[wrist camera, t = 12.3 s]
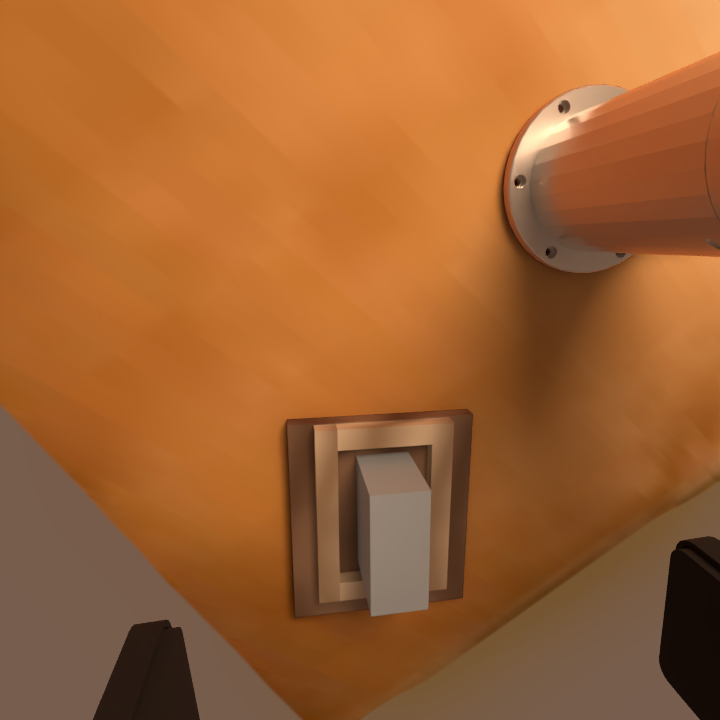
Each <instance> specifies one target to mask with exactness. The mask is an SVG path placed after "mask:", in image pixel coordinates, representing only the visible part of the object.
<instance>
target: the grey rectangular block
mask: <svg viewBox="0 0 720 720" xmlns="http://www.w3.org/2000/svg"><path fill="white" fill-rule="evenodd" d="M356 483H357V543H358V563H359V568H360V572H361V576H362V581H363V585H364V589H365V593H366V598H367V602H368V606H369V611H370V615H371V616H379V615H387V614H395V613H403V612H411V611H418V610H426V609H428V601H429V560H430V518H431V489H430V488H429V486H428V484H427V483H426V481H425V479H424V478H423V476H422V474H421V472H420V471H419V469H418V467H417V466H416V464H415V462H414V461H413V459H412V457H411V456H410V454H409V452H395V453H383V454H370V455H357V456H356Z"/></svg>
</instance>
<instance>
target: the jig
mask: <svg viewBox="0 0 720 720" xmlns="http://www.w3.org/2000/svg"><path fill="white" fill-rule="evenodd" d="M472 420H473V414H472V413H471V412H470V411H468V410H467V409H463V410H445V411H428V412H410V413H393V414H375V415H358V416H340V417H323V418H305V419H288V420H287V433H288V456H289V480H290V504H291V527H292V551H293V575H294V599H295V618H296V617H305V616H314V615H322V614H331V613H339V612H348V611H357V610H365V609H369V606H368V602H367V598H366V593H365V589H364V585H363V581H362V576H361V572H360V568H359V563H358V543H357V483H356V456H357V455H370V454H383V453H395V452H409V454H410V456H411V457H412V459H413V461H414V462H415V464H416V466H417V467H418V469H419V471H420V472H421V474H422V476H423V478H424V479H425V481H426V483H427V484H428V486H429V488H430V489H431V518H430V560H429V601H428V602H434V601H442V600H451V599H459V598H463V583H464V565H465V547H466V529H467V511H468V493H469V475H470V457H471V438H472Z"/></svg>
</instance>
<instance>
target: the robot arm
mask: <svg viewBox="0 0 720 720" xmlns="http://www.w3.org/2000/svg"><path fill="white" fill-rule="evenodd" d="M558 107H559V109H560V112H559V110H558ZM514 180H516V181H517V185H516V186H515V184H514ZM503 189H504V204H505V209H506V213H507V217H508V221H509V223H510V226H511V228H512V230H513V232H514V234H515V237H516V238H517V239H518V241H519V242H520V243H521V245H522V246H523V248H524V249H525V250H526V251H527V252H528V253H529V254H530V255H532V256H533V257H534V258H535V259H536V260H538V261H539V262H541V263H543V264H545V265H546V266H548V267H551V268H554V269H557V270H560V271H565V272H572V273H592V272H597V271H601V270H606V269H608V268H610V267H613V266H615V265H617V264H620V263H621V262H623V261H624V260H626V259H627V258H629V257H630V256H632V255H633V254H658V255H684V256H710V257H720V52H718V53H716V54H714V55H711V56H709V57H707V58H704V59H702V60H700V61H697V62H695V63H693V64H690V65H688V66H686V67H683V68H681V69H679V70H676V71H674V72H672V73H669V74H667V75H665V76H663V77H660V78H658V79H656V80H653V81H651V82H649V83H646V84H644V85H642V86H639V87H637V88H635V89H632V90H630V91H629V90H627V89H624V88H622V87H619V86H614V85H607V84H593V85H585V86H582V87H578V88H575V89H572V90H569V91H567V92H565V93H563V94H561V95H559V96H557V97H555V98H554V99H552V100H551V101H549V102H548V103H547V104H545V105H544V106H542V107H541V108H540V109H539V110H538V111H537V112H536V113H535V114H534V115H533V116H532V117H531V118H530V119H529V120H528V121H527V123H526V124H525V126H524V127H523V129H522V130H521V131H520V133H519V134H518V136H517V138H516V140H515V143H514V145H513V147H512V149H511V151H510V154H509V158H508V161H507V165H506V169H505V177H504V186H503ZM546 249H547V251H548V252H547V254H546V253H545V252H546ZM659 663H660V667H661V670H662V672H663V674H664V676H665V678H666V679H667V681H668V682H669V683H670V684H671V686H672V687H673V688H674V689H675V690H676V692H677V693H678V694H679V695H680V696H681V698H682V699H683V700H684V701H685V702H686V703H687V705H688V706H689V707H690V708H691V710H692V711H693V712H694V713H695V714H696V716H697V717H698V718H699V719H700V720H720V540H718V539H716V538H714V537H709V536H708V537H701V538H695V539H688V540H683V541H680V542H679V543H678V544H677V546H676V550H674V551H673V552H672V554H671V557H670V567H669V575H668V585H667V593H666V601H665V611H664V620H663V628H662V637H661V646H660V655H659ZM93 720H200V719H199V714H198V708H197V703H196V698H195V693H194V688H193V683H192V678H191V673H190V669H189V663H188V658H187V653H186V648H185V643H184V638H183V633H182V629H181V628H180V627H176V628H172V627H171V624H170V622H169V621H168V620H162V621H155V622H148V623H142V624H135V625H134V626H132V627H131V629H130V631H129V633H128V636H127V638H126V640H125V643H124V645H123V648H122V650H121V653H120V655H119V657H118V660H117V662H116V665H115V667H114V670H113V672H112V674H111V677H110V679H109V682H108V684H107V687H106V689H105V692H104V694H103V696H102V699H101V701H100V704H99V706H98V708H97V711H96V713H95V716H94V718H93Z"/></svg>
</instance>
